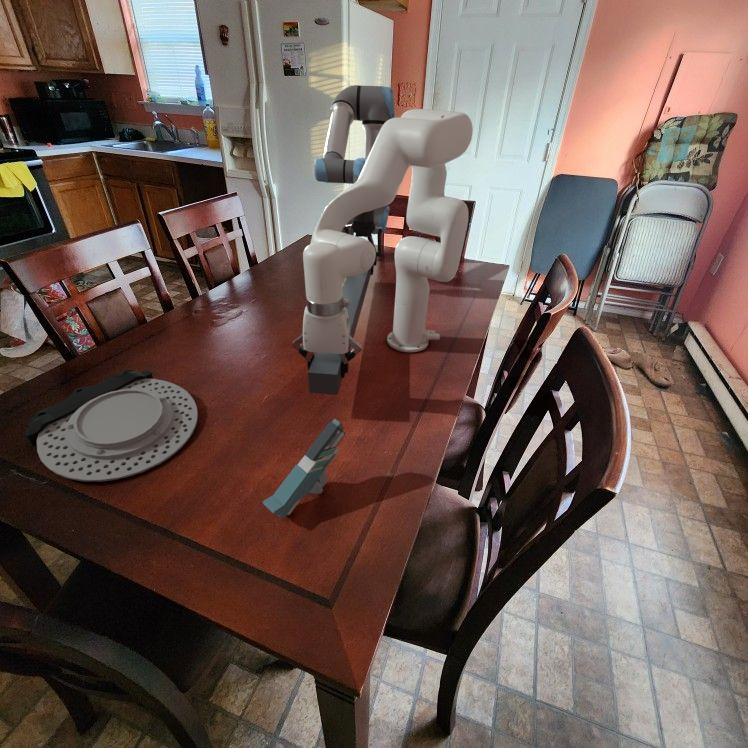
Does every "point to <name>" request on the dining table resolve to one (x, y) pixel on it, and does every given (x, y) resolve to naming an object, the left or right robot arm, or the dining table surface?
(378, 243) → the left robot arm
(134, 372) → the brake disc
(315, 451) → the toy gun
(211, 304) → the dining table surface
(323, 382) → the bar
